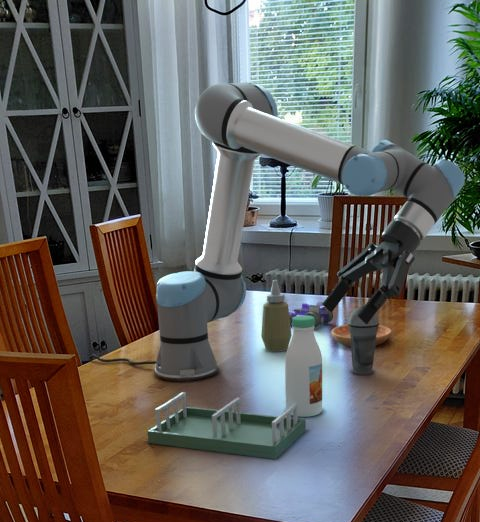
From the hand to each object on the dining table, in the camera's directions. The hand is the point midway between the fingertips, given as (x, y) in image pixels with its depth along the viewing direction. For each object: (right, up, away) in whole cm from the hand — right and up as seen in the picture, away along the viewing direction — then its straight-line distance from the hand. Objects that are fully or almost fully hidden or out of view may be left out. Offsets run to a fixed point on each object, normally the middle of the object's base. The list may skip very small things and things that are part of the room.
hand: (343, 314), depth 179 cm
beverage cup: (+8, -7, +30) cm, 32 cm away
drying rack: (-24, -26, -7) cm, 36 cm away
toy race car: (-3, +15, +76) cm, 78 cm away
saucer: (+11, +6, +56) cm, 58 cm away
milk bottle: (-8, -20, +5) cm, 22 cm away
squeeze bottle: (-12, +3, +52) cm, 53 cm away
